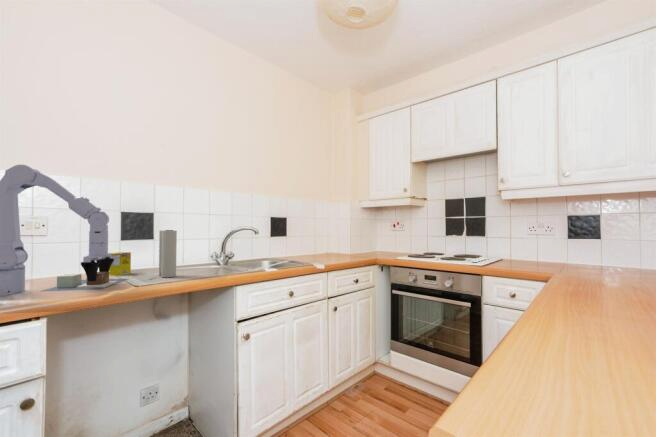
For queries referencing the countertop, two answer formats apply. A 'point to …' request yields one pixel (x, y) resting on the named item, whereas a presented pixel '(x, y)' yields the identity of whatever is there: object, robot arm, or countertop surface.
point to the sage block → (68, 280)
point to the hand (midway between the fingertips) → (97, 279)
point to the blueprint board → (88, 286)
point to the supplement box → (120, 263)
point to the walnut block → (100, 279)
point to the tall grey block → (167, 253)
